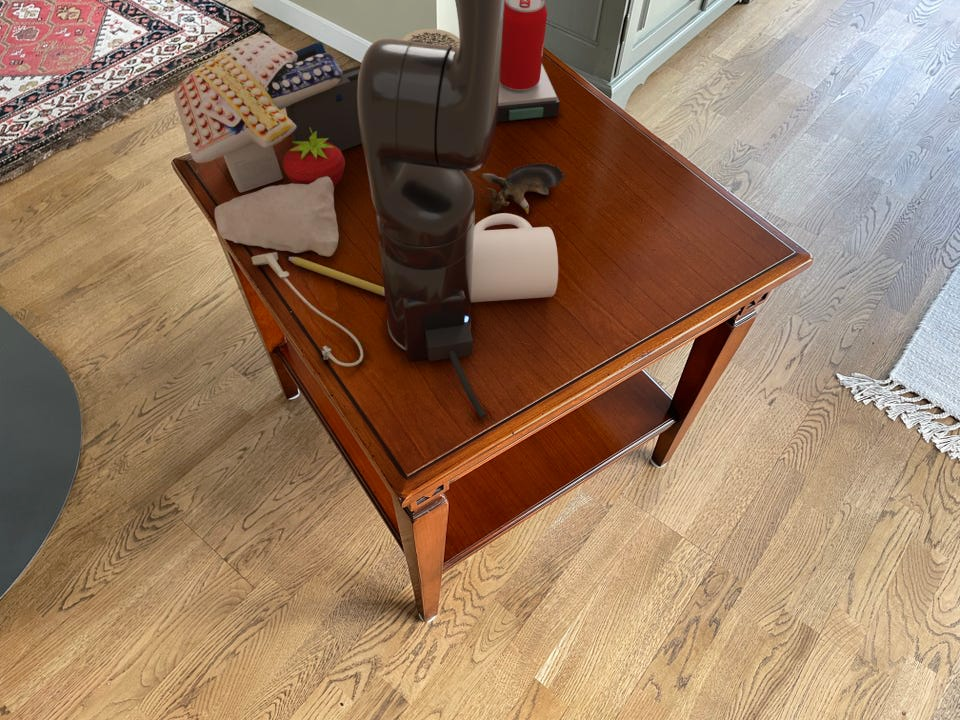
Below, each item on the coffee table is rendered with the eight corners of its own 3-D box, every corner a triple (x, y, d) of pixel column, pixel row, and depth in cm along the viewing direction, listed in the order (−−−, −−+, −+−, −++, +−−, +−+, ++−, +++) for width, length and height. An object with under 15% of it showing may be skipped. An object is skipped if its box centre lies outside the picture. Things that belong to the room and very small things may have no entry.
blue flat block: (344, 100, 90) (338, 102, 90) (311, 106, 102) (307, 108, 101) (322, 40, 87) (316, 42, 87) (291, 53, 99) (286, 55, 98)
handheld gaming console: (437, 102, 104) (436, 38, 95) (447, 112, 102) (447, 48, 94) (294, 155, 96) (279, 89, 87) (302, 166, 94) (289, 100, 86)
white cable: (364, 376, 79) (289, 251, 87) (370, 358, 76) (292, 231, 84) (321, 391, 76) (246, 260, 84) (325, 373, 74) (248, 240, 81)
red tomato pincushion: (290, 184, 92) (274, 119, 84) (347, 179, 93) (338, 113, 85) (291, 215, 89) (276, 151, 81) (351, 209, 90) (342, 145, 82)
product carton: (284, 179, 93) (270, 133, 87) (239, 194, 91) (222, 148, 85) (270, 152, 96) (255, 105, 90) (226, 165, 94) (208, 119, 88)
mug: (552, 310, 82) (562, 263, 75) (467, 317, 81) (469, 269, 74) (535, 237, 89) (542, 188, 82) (456, 242, 88) (457, 192, 81)
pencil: (287, 256, 85) (285, 250, 84) (391, 293, 82) (390, 287, 82) (282, 262, 85) (281, 256, 84) (387, 299, 82) (386, 293, 81)
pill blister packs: (361, 90, 88) (279, 31, 92) (352, 56, 83) (265, -5, 86) (236, 202, 83) (154, 134, 86) (218, 173, 78) (132, 102, 81)
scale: (558, 118, 103) (561, 100, 100) (492, 125, 101) (493, 106, 99) (540, 76, 109) (542, 58, 106) (477, 82, 107) (477, 64, 105)
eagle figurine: (520, 231, 87) (574, 192, 89) (496, 181, 84) (552, 141, 86) (491, 224, 94) (541, 188, 96) (467, 177, 90) (520, 140, 92)
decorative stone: (339, 181, 87) (219, 188, 87) (332, 171, 83) (205, 179, 83) (344, 259, 87) (223, 266, 87) (336, 254, 83) (209, 261, 83)
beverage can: (540, 71, 104) (550, -11, 95) (538, 96, 101) (548, 14, 91) (498, 67, 104) (503, -15, 95) (494, 92, 101) (499, 9, 91)
